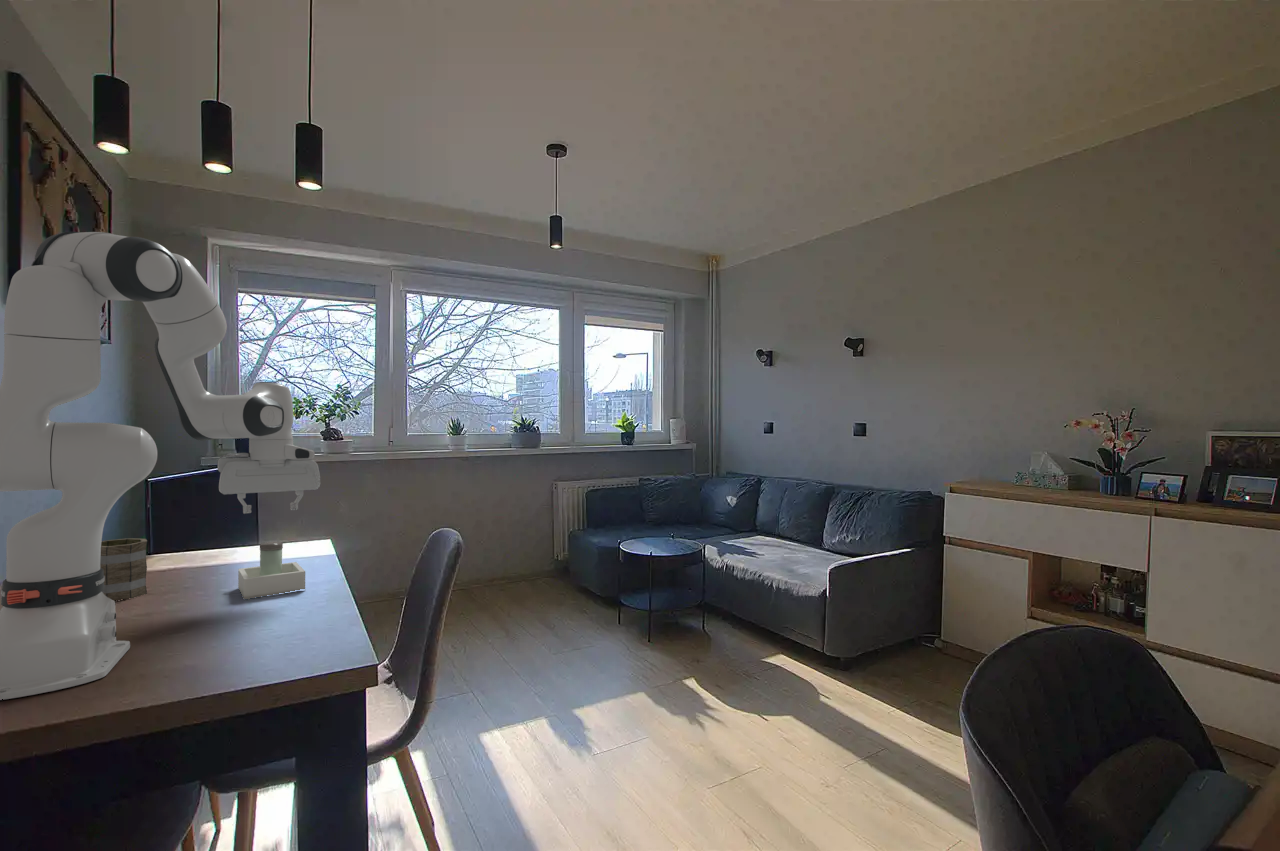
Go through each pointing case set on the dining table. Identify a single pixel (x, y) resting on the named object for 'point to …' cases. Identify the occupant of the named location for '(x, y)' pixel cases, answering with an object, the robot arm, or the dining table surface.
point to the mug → (124, 567)
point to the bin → (270, 581)
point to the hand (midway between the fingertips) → (271, 511)
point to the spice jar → (271, 558)
